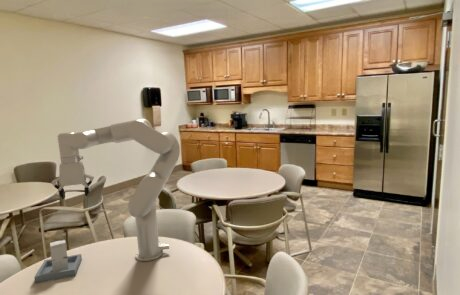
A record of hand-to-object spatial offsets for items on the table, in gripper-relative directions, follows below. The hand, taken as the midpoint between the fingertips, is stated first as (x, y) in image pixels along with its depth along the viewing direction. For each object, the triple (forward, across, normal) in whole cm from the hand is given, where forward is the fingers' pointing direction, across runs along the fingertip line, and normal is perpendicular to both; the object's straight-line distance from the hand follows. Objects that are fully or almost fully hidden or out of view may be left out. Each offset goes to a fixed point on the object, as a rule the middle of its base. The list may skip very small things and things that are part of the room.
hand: (75, 196), depth 137 cm
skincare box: (+30, +8, +8) cm, 31 cm away
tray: (+30, +8, +8) cm, 32 cm away
